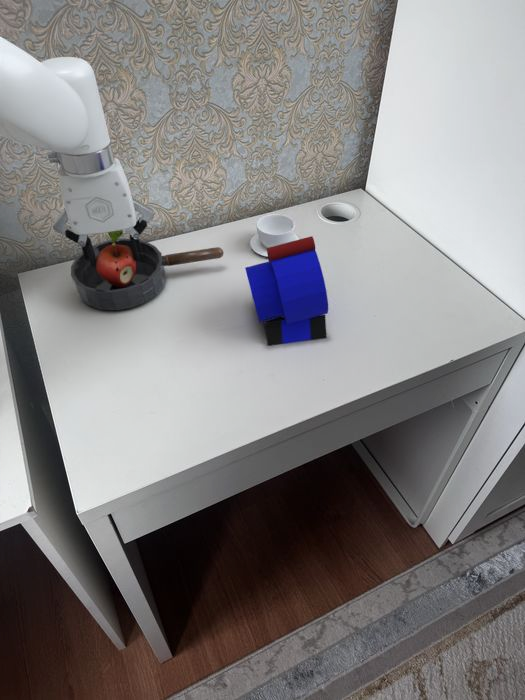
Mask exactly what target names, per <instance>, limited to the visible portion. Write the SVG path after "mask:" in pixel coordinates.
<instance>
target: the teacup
mask: <svg viewBox="0 0 525 700" xmlns="http://www.w3.org/2000/svg"><path fill="white" fill-rule="evenodd" d="M255 225H256V232H257V233H255V234H254V235H252V237H251V238H250V242H249V246H250V248H251V249H252V250H253V251H254V252H255V253H256V254H258V255H261V256H263V257H267V258H268V254H267V248H269V247H273V246H277V245H280V244H284V243H288V242H292V241H295V240H299V239H300V238H299V236H298V235H297V234H295V228H296V222H295V221H294V219H293V218H292V217H290V216H288V215H285V214H281V213H270V214H266V215H263V216H261V217H260V218H258V219H257V221H256V224H255Z"/></svg>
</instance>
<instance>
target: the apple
mask: <svg viewBox="0 0 525 700" xmlns="http://www.w3.org/2000/svg"><path fill="white" fill-rule="evenodd" d="M107 234H108V236H109V238H110V240H112V241H113V243H112V245H110V246H107V247H106V248H104V249H103V250H101V251H100V252H99V254H98V255H97V257H96V262H95V263H96V270H97V272H98V274H99V275H100V276H101V277H102V278H103V279H104V280H106V281H107V282H108V283H109V284H111V285H113V286H116V287H125V286H127V285H128V284H129V283H130V282H131V281H132V279H133V277H134V274H135V271H136V259H134V254H133V251H132V249H131V248H130V247H128V246H125V245H116V243H114V242H115V241H116V240H117V239H120V238H121V237H122V236H123V234H124V230H121V231H114V232H107Z"/></svg>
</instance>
